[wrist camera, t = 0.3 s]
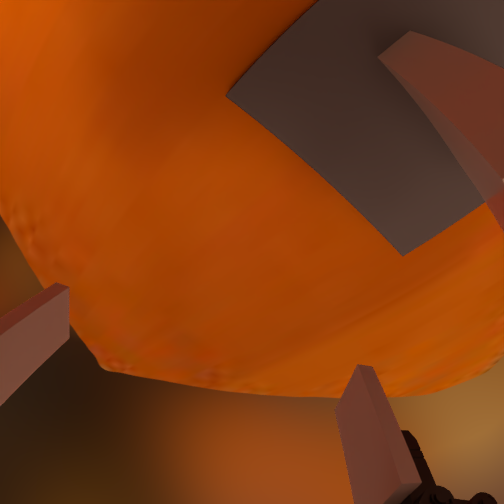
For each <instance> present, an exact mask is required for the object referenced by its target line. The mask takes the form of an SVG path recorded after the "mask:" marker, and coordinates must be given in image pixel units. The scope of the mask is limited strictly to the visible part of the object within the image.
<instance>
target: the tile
mask: <svg viewBox="0 0 504 504" xmlns="http://www.w3.org/2000/svg"><path fill="white" fill-rule="evenodd" d="M377 58H378V59H379V60H380V61H381V62H382V63H383V64H384V65H385V66H386V67H387V68H388V70H389V71H390V72H391V73H392V74H393V75H394V76H395V78H396V79H397V80H398V81H399V82H400V83H401V85H402V86H403V87H404V88H405V89H406V91H407V92H408V93H409V94H410V96H411V97H412V98H413V99H414V101H415V102H416V103H417V104H418V106H419V107H420V108H421V110H422V111H423V112H424V114H425V115H426V116H427V118H428V119H429V120H430V122H431V123H432V124H433V126H434V127H435V129H436V130H437V131H438V133H439V134H440V136H441V137H442V139H443V140H444V142H445V143H446V145H447V146H448V148H449V149H450V151H451V152H452V154H453V155H454V157H455V158H456V160H457V161H458V163H459V164H460V166H461V167H462V168H463V170H464V171H465V173H466V174H467V175H468V177H469V178H470V180H471V181H472V183H473V184H474V185H475V187H476V188H477V190H478V191H479V193H480V194H481V196H482V198H483V199H484V201H485V202H486V204H487V205H488V207H489V209H490V210H491V212H492V213H493V215H494V217H495V218H496V220H497V222H498V223H499V225H500V227H501V229H502V230H503V232H504V69H503V68H501V67H499V66H497V65H495V64H493V63H491V62H489V61H487V60H485V59H483V58H481V57H478V56H476V55H474V54H472V53H469V52H467V51H465V50H462V49H460V48H457V47H455V46H452V45H450V44H447V43H445V42H442V41H439V40H437V39H434V38H431V37H428V36H425V35H422V34H419V33H416V32H413V31H409V32H407V33H406V34H405V35H404V36H402V37H401V38H400V39H399V40H397V41H396V42H395V43H394V44H392V45H391V46H390V47H389V48H388V49H386V50H385V51H384V52H383V53H382V54H380V55H379V56H378V57H377Z"/></svg>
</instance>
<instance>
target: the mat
mask: <svg viewBox="0 0 504 504" xmlns="http://www.w3.org/2000/svg"><path fill="white" fill-rule="evenodd" d="M409 31H413V32H416V33H419V34H422V35H425V36H428V37H431V38H434V39H437V40H439V41H442V42H445V43H447V44H450V45H452V46H455V47H457V48H460V49H462V50H465V51H467V52H469V53H472V54H474V55H476V56H478V57H481V58H483V59H485V60H487V61H489V62H491V63H493V64H495V65H497V66H499V67H501V68H503V69H504V0H318V1H317V2H316V3H315V4H314V5H313V6H312V7H311V8H310V9H309V10H307V11H306V12H305V13H304V14H303V15H302V16H301V17H300V18H299V19H298V20H297V21H296V22H295V23H294V24H293V25H292V26H290V27H289V28H288V29H287V30H286V31H285V32H284V33H283V34H282V35H281V36H280V37H279V38H278V39H277V40H276V41H275V42H274V43H273V44H272V45H271V46H270V47H269V48H268V49H267V50H266V52H265V53H264V54H263V55H262V56H261V57H260V58H259V59H258V60H257V61H256V62H255V63H254V64H253V65H252V66H251V67H250V68H249V70H248V71H247V72H246V73H245V74H244V75H243V76H242V77H241V78H240V79H239V80H238V82H237V83H236V84H235V85H234V86H233V87H232V88H231V89H230V91H229V92H228V93H227V94H226V97H227V98H228V99H230V100H231V101H232V102H234V103H235V104H236V105H238V106H239V107H240V108H241V109H243V110H244V111H245V112H247V113H248V114H249V115H250V116H252V117H253V118H254V119H255V120H257V121H258V122H259V123H260V124H261V125H263V126H264V127H265V128H266V129H268V130H269V131H270V132H271V133H272V134H274V135H275V136H276V137H277V138H278V139H280V140H281V141H282V142H283V143H284V144H286V145H287V146H288V147H289V148H290V149H291V150H293V151H294V152H295V153H296V154H297V155H298V156H299V157H301V158H302V159H303V160H304V161H305V162H306V163H307V164H309V165H310V166H311V167H312V168H313V169H314V170H315V171H316V172H317V173H319V174H320V175H321V176H322V177H323V178H324V179H325V180H326V181H327V182H328V183H330V184H331V185H332V186H333V187H334V188H335V189H336V190H337V191H338V192H339V193H340V194H341V195H342V196H343V197H344V198H345V199H347V200H348V201H349V202H350V203H351V204H352V205H353V206H354V207H355V208H356V209H357V210H358V211H359V212H360V213H361V214H362V215H363V216H364V217H365V218H366V219H367V220H368V221H369V222H370V223H371V224H372V225H373V226H374V227H375V228H376V229H377V230H378V231H379V232H380V233H381V234H382V235H383V236H384V237H385V238H386V239H387V240H388V241H389V242H390V243H391V244H392V246H393V247H394V248H395V249H396V250H397V251H398V252H399V253H400V254H401V255H402V256H404V255H406V254H407V253H409V252H410V251H412V250H414V249H415V248H417V247H418V246H420V245H422V244H423V243H425V242H426V241H428V240H429V239H431V238H433V237H434V236H436V235H437V234H439V233H440V232H442V231H443V230H445V229H446V228H448V227H449V226H451V225H452V224H454V223H455V222H457V221H458V220H460V219H461V218H463V217H464V216H466V215H467V214H468V213H470V212H471V211H473V210H474V209H476V208H477V207H479V206H480V205H481V204H483V203H484V202H485V201H484V199H483V198H482V196H481V194H480V193H479V191H478V190H477V188H476V187H475V185H474V184H473V183H472V181H471V180H470V178H469V177H468V175H467V174H466V173H465V171H464V170H463V168H462V167H461V166H460V164H459V163H458V161H457V160H456V158H455V157H454V155H453V154H452V152H451V151H450V149H449V148H448V146H447V145H446V143H445V142H444V140H443V139H442V137H441V136H440V134H439V133H438V131H437V130H436V129H435V127H434V126H433V124H432V123H431V122H430V120H429V119H428V118H427V116H426V115H425V114H424V112H423V111H422V110H421V108H420V107H419V106H418V104H417V103H416V102H415V101H414V99H413V98H412V97H411V96H410V94H409V93H408V92H407V91H406V89H405V88H404V87H403V86H402V85H401V83H400V82H399V81H398V80H397V79H396V78H395V76H394V75H393V74H392V73H391V72H390V71H389V70H388V68H387V67H386V66H385V65H384V64H383V63H382V62H381V61H380V60H379V59H378V58H377V57H378V56H379V55H380V54H382V53H383V52H384V51H385V50H386V49H388V48H389V47H390V46H391V45H392V44H394V43H395V42H396V41H397V40H399V39H400V38H401V37H402V36H404V35H405V34H406V33H407V32H409Z"/></svg>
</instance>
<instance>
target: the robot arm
mask: <svg viewBox="0 0 504 504" xmlns="http://www.w3.org/2000/svg"><path fill="white" fill-rule="evenodd" d="M67 339H69V287H68V286H65V285H62V284H60V283H57V282H56V283H55V284H53V285H51V286H50V287H48V288H46V289H45V290H43V291H42V292H40V293H38V294H37V295H35V296H34V297H32V298H30V299H29V300H27V301H26V302H24V303H23V304H21V305H20V306H18V307H16V308H15V309H14V310H12V311H10V312H9V313H7V314H6V315H4V316H3V317H1V318H0V406H1V405H2V404H3V403H4V401H6V400H7V398H8V397H9V396H10V395H11V394H12V393H13V392H14V391H15V390H16V389H17V388H18V387H19V386H20V385H21V384H22V383H23V382H24V381H25V380H26V379H27V378H28V377H29V376H30V375H31V374H32V373H33V372H34V371H35V370H36V369H37V368H38V367H39V366H40V365H41V364H43V362H44V361H45V360H47V359H48V358H49V357H50V356H51V355H52V354H53V353H54V352H55V351H56V350H57V349H58V348H59V347H60V346H61V345H62V344H63V343H64V342H66V340H67ZM335 414H336V419H337V423H338V428H339V432H340V437H341V441H342V446H343V451H344V455H345V460H346V465H347V470H348V475H349V479H350V484H351V489H352V495H353V499H354V504H497V502H496V500H495V499H494V498H493V497H492V496H491V495H490V494H487V493H484V492H480V493H477V494H476V495H475V496H473V497H472V499H470V500H469V501H467V500H460V499H454V497H453V495H452V494H451V492H450V491H449V490H447V489H446V488H444V487H441V486H436V484H435V481H434V479H433V477H432V474H431V472H430V469H429V467H428V465H427V463H426V460H425V459H424V456H423V453H422V451H420V447H419V445H418V442H417V440H416V439H415V437H414V436H413V435H412V434H411V433H410V432H409V431H406V430H400V427H399V425H398V423H397V420H396V418H395V416H394V413H393V411H392V409H391V406H390V404H389V402H388V400H387V397H386V395H385V393H384V391H383V388H382V386H381V384H380V382H379V380H378V377H377V375H376V373H375V371H374V369H373V367H371V366H365V365H359V364H357V366H356V368H355V370H354V373H353V375H352V377H351V379H350V381H349V383H348V385H347V387H346V389H345V391H344V393H343V395H342V397H341V399H340V401H339V402H338V404H337V406H336V408H335Z"/></svg>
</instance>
